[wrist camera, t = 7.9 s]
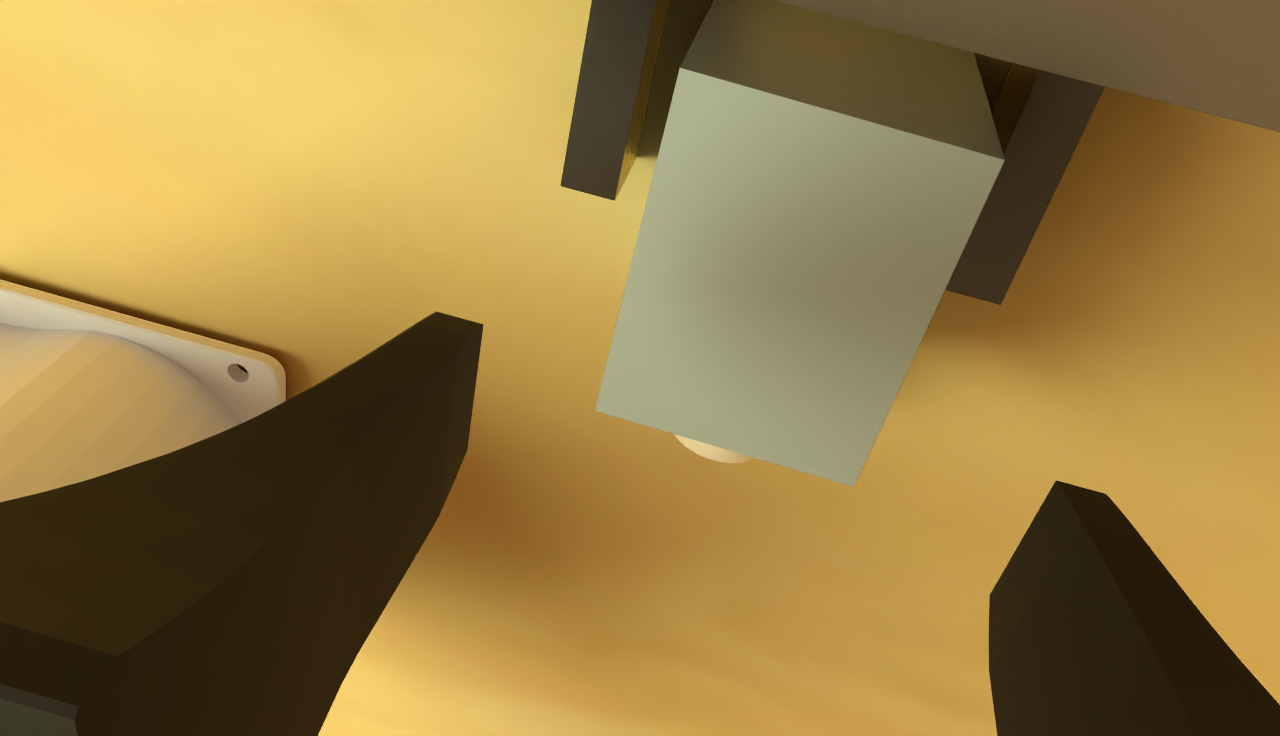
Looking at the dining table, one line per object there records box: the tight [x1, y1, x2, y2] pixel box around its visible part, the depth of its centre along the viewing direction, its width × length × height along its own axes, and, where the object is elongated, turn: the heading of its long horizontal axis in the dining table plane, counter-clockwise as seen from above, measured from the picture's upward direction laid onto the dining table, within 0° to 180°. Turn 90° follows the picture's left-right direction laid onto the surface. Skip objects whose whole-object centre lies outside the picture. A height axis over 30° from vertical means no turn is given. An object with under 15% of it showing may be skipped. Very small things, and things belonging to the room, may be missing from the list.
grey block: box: [595, 0, 1005, 487], centre depth 18 cm, size 4×8×5 cm, turn 168°
